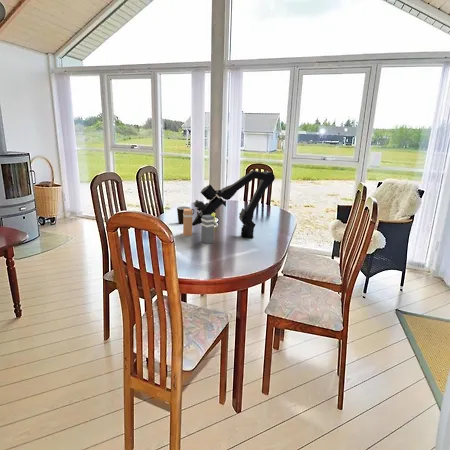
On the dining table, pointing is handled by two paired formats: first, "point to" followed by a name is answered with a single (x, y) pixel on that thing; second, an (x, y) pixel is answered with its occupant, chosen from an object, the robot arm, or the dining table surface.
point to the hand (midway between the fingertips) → (192, 225)
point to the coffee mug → (181, 213)
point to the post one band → (187, 222)
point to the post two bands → (207, 229)
